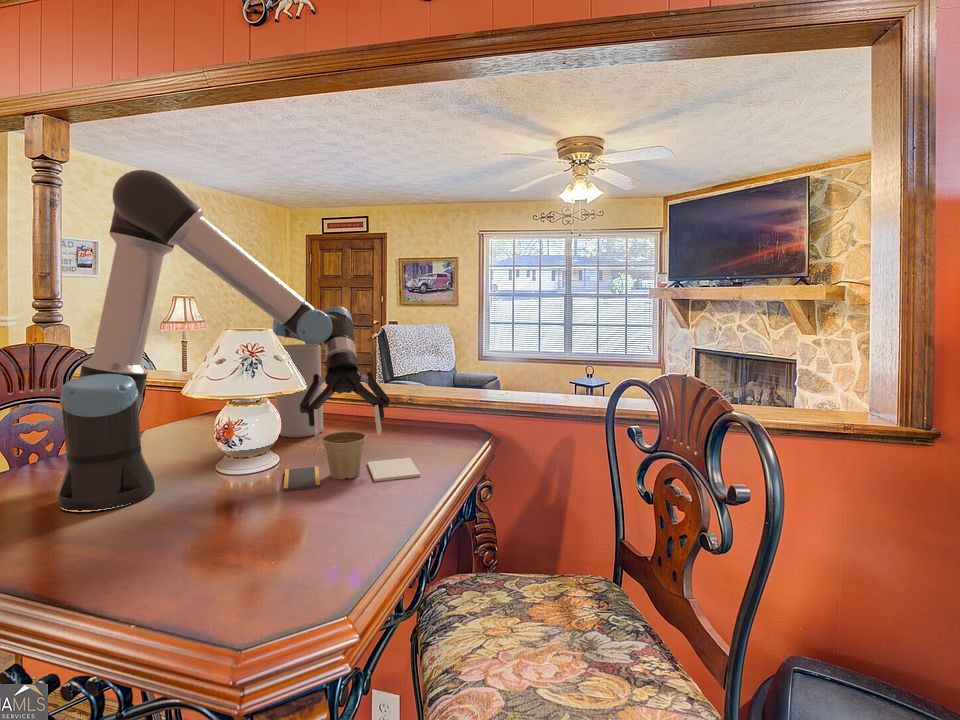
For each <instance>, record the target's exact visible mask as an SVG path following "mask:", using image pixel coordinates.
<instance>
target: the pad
mask: <svg viewBox="0 0 960 720" xmlns="http://www.w3.org/2000/svg"><path fill="white" fill-rule="evenodd" d="M367 467H368V469H369V472H370V474H371V477H372V480H373V482H382V481H391V480H402V479H410V478H419V477H421V472H420V470H418V468H417V466H416V465H415V463H414V462H413V460H412V459H411V457H404V458H396V459H395V458H394V459H392V458H391V459H384V460H383V459H382V460H374V461H367Z"/></svg>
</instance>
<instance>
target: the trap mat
mask: <svg viewBox="0 0 960 720" xmlns="http://www.w3.org/2000/svg"><path fill="white" fill-rule="evenodd" d="M284 471H285V472H284V480H283V492H291V491H292V492H293V491H300V490H299V489H301V490H308V489H307V488H310V489H317V487H319V488H321V483H320V471H319V465H317V466H311V467H300V468H285V470H284Z"/></svg>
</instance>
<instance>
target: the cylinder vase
mask: <svg viewBox="0 0 960 720" xmlns="http://www.w3.org/2000/svg"><path fill="white" fill-rule="evenodd" d="M281 345H282V346H283V347H284V349H285V350H286V351H287V352H288V354H289V355H290V357H291V359H292V361H293V363H294V364H295V366H296V367H297V369H298V370H299V372H300V373H301V375H302V376H303V377H304V379H305V382H306V385H307V390H304V391H300V392H296V393H293V394H286V395H279V396H276V395H275V405H276V407H275V409H277V410H278V412H279V414H280V417H281V423H282V430H281V434H280V435H279V436H281V437H284V438H295V439H296V438H307V437H312V436H315V426H310V425H309V415H308V414H307V413H301V412H300V404H301V402H302V400H303V398H304V397H305V395H306V393H307V391H308V390H309V388H310V386H311V384H312V383H313V377H314V374H318V375H319V376H320V377H323V376H322V353H321V351H322V348H321V345H319V344H308V343H306V344H305V343H302V344H300V343H299V344H281ZM322 392H323V384H322V385H321V386H318V390H317V392H316V394H315V395H314V397H313V399H312V401H311V403H312V402H313V401H314V400H315V399H316V398H317V397H318V396H319V395H320V394H321V393H322ZM311 403H310V404H311ZM323 405H324V404H322V406H321V407H320V408H319V409H318V410H317V412H318V428H319V434H320V433H322V432H323V430H324V415H323V414H324V413H323V411H324V410H323Z"/></svg>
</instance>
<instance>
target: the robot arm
mask: <svg viewBox="0 0 960 720" xmlns="http://www.w3.org/2000/svg"><path fill="white" fill-rule="evenodd" d="M112 202H113V205H114V209H113V214H112V218H111V219H112V220H111V225H110V229H109V236H110V237H111V238H112V240H113V241H114V243H115V248H114V249H115V250H114V254H113V257H112V258H113V259H112V264H111V267H110V273H109V277H108V282H107V287H106V293H105V297H104V303H103V308H102V312H101V316H100V320H99V326H98V331H97V336H96V340H95V346H94V348H93V349H94V351H93V355H92V356H91V357H90V358H88V359H86V360H84V361H83V362H82V363H81V366H80V367H81V368H80V372H79V377H78V378H73V379H70V380H68V381H67V382H65V383H64V384H63V385H62V386H61V389H60V398H59V404H60V407H61V411H62V412H61V413H62V424H63V433H64V443H65V455H66V468H65V472H64V475H63V478H62V482H61V485H60V488H59V492H58V495H57V498H58V500H57V501H58V507H59V506H60V507H61V508H64V509H67V510H78V511H82V510H98V509H105V508H112V507H117V506H121V505H126V504H129V503H133V502H136V501H138V502H140V501H139V500H141V499H143V498H145V499H147V498H148V497H147V496H149V495H150V496H151V495H153V493H155V491H154V490H156V489H155V487H156V486H155V478H154V476H153V474H152V471H151V470H150V468H149V465H148V464H147V461H146V460H145V457H144V456H143V453H142V441H141V430H140V429H141V428H140V410H141V409H142V405H143V401H144V397H143V396H144V391H145V387H146V383H147V382H146V381H147V377H148V370H147V369H146V368H145V366H144V365H143V364H142V361H143V356H144V352H145V346H146V343H147V338H148V333H149V327H150V323H151V318H152V313H153V309H154V305H155V299H156V294H157V288H158V285H159V282H160V281H159V280H160V276H161V270H162V266H163V265H162V264H163V261H164V257H165V256H166V255H167V254H169V253H171V252H173V251H174V250H175V249H174V248H175V246H178V247H180V249H182V250H183V251H184V252H185V253H187V254H189V255H190V256H191V257H192V258H193V259H195V260H196V261H197V262H199V263H200V264H201V265H203V266H204V267H205V268H207V269H208V270H209V271H211V272H212V273H213V274H215V276H217V277H218V278H220V279H221V280H223V281H224V282H225V283H226V284H228V285H229V286H230V287H232V288H233V289H234V290H235V291H237V292H238V293H239V294H241V295H242V296H243V297H245V298H246V299H247V300H249V301H250V302H252V304H254V305H256V307H258V308H259V309H261V310H262V311H263V312H265V314H267V315H268V316H270V317H271V318H272V319H273V322H272V332H273V334H274V333H275V334H274V335H275V336H278V337H283V338H285V339H287V338H291V339H295V340H298V341H302V342H304V343H306V344H313V345H319V344H322V343H323V344H324V354H325V355H324V356H325V368H326V375H325V376H322V377H320V376H319V375H318V374H314V377H313V383H312V384H311V386H310V388H309V390H308V391H307V393H306V395H305V397H304V398H303V400H302V402H301V404H300V412H301V413H307V414H308V415H309V425H310V426H315V435H314V439H315V441H319V440H320V433H319V428H318V412H317V410H318V409H319V408H320V407H321V406H322V405H324V404H325V402H326V401H327V400H329V398H330V397H332V396H333V395H334V394H335V393H337V394H339V395H340V394H345V393H346V394H351V393H352V392H353V393H355V395H357V396H360V397H361V398H362V399H364V400H365V401H366V402H367V403H368V404H370V405H371V406H372V407H374V409H373V413H374V420H375V428H376V430H375V431H376V435H377V436H381V433H382V423H381V421H384V418H385V412H384V408H386V409H387V408H389V406H390V401H391V399H390V397H389V396H388V395H387V394H386V392H385V391H384V389H382V387H381V386H380V385H379V384H378V382H377V381H376V380H375V378H374V375H373V372H372V371H367V373H365V374H360V372H359V366H358V365H359V364H358V359H357V348H356V342H355V332H354V331H355V330H354V323H353V318H352V315H351V313H350V311H349V310H348V309H347V308H346V307H343V306H335V307H333V306H330V307H327V308H326V309H325V310H324V311H322V310H320V309H317V308H315V307H314V306H313V305H312V304H311V303H310V302H308V301H307V300H306V299H305V298H303V297H302V296H301V295H300V294H298V293H297V292H296V291H295V290H293V289H292V288H291V287H289V285H287V284H286V283H285V282H284V281H283V280H281V278H280V277H277V276H276V275H275V274H274V273H272V272H271V271H270V270H269V269H268V268H266V267H265V266H264V265H263V264H261V263H260V262H259V261H258V260H256V259H255V258H254V257H253V256H252V255H250V254H249V253H248V252H247V251H246V250H244V249H243V248H242V247H241V246H239V245H238V244H237V243H236V242H235V241H233V239H231V238H230V237H228V236H227V234H225V233H224V232H223V231H221V230H220V229H219V228H218V227H216V226H215V225H214V224H213V223H211V222H210V221H209V220H207V219H206V218H205V217H204V214H203V213H204V212H203V209H202V208H201V207H200V206H198V205H197V204H196V203H195V202H194V201H193V200H192V199H191V198H189V197H188V196H187V195H186V194H185V193H184V192H183V191H181V189H180V188H179V187H177V186H176V184H175V183H173V182H172V181H171V180H170V179H168V178H167V176H164V175H163V174H160V173H157V172H156V171H152V170H148V169H135V170H132V171H129V172H127V173H126V172H125V174H123V175H122V176H121V177H120V178H118V180H117V181H116V182H115V184H114V187H113V189H112ZM362 381H363V382H364V384H366V385H367V386H368V387H369V389H370V390H371V391H372V392H371V391H370V390H369V389H367V388H366V387H365V386H364V385H363V384H362V383H361V382H362ZM324 383H325V384H326V387H325V388H324V389H323V390H322V393H321V394H320V395H319V396H318V397H317V398H316V399H315V400H314V401H313V402H312V403H311V401H312V399H313V397H314V395H315V394H316V392H317V390H318V386H321V385H322V386H323V384H324ZM310 403H311V404H310ZM150 496H149V497H150ZM146 497H147V498H146ZM143 500H144V499H143ZM141 501H142V500H141ZM136 503H137V502H136ZM133 504H134V503H133Z"/></svg>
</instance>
